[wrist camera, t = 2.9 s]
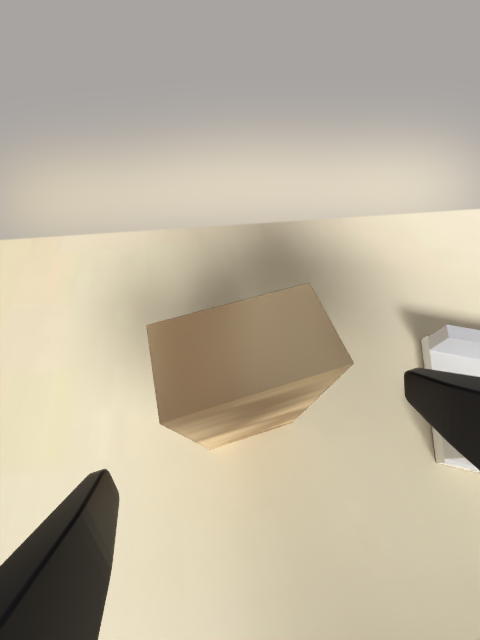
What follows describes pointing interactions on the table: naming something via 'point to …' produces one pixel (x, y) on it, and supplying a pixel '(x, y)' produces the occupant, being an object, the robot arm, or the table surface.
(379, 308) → the table surface
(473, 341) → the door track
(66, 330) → the table surface
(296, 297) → the wooden block
